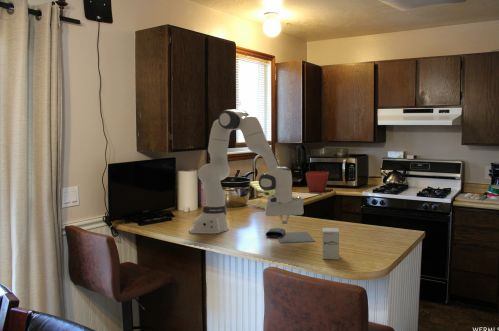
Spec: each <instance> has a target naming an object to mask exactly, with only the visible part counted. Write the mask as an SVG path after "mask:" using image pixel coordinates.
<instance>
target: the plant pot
mask: <svg viewBox="0 0 499 331" xmlns="http://www.w3.org/2000/svg"><path fill="white" fill-rule="evenodd" d="M329 173H330V172H329V171H307V172H306V173H305V179H306V180H305V181H306V184H307V188H308V191H309V193H325V192H326V188H327V185H328V184H327V183H328V178H329Z"/></svg>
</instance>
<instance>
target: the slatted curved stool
mask: <svg viewBox="0 0 499 331" xmlns="http://www.w3.org/2000/svg"><path fill="white" fill-rule="evenodd" d="M249 186H251V187H252V188H253V189H254V190H256V191H257V192H263V193H268V195H269V196H272V195H274V194H275V190H270V191H265V190H262V189H261V188H260V186H259V180H254V181H249ZM267 202H268V201H267ZM267 202H264V203H259V204H258V203H257V204H256V208H260V209H264V210H265V205H266V203H267Z"/></svg>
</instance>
